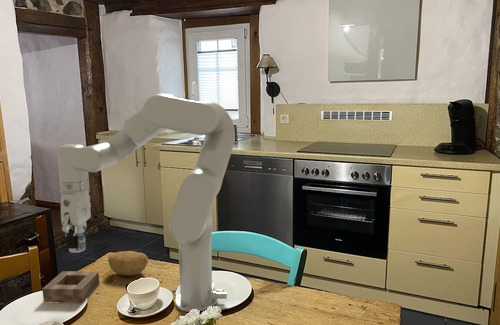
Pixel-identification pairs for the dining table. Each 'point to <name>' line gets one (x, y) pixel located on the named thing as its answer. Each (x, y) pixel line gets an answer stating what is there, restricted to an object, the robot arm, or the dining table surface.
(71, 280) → the socket block
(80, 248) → the pill bottle
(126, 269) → the potato
